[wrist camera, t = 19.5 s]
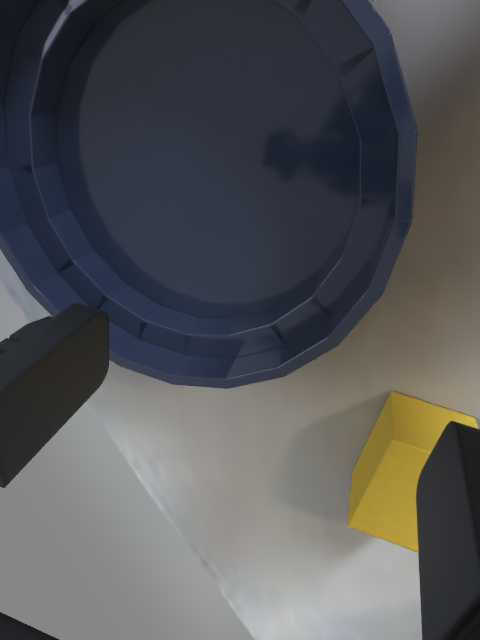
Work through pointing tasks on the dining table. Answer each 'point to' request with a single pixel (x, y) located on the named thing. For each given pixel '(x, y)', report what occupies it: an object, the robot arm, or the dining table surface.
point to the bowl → (205, 175)
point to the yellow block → (396, 468)
